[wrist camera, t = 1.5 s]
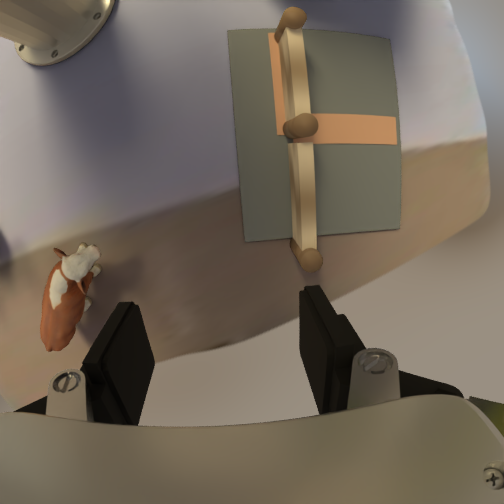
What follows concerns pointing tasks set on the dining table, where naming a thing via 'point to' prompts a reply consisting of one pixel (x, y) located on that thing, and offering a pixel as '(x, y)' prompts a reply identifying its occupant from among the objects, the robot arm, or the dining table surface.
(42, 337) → the bull figurine
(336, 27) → the dining table surface
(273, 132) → the card
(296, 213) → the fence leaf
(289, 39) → the wooden fence panel
